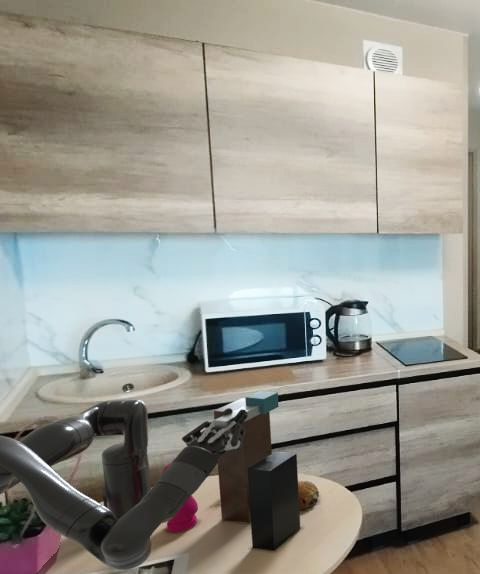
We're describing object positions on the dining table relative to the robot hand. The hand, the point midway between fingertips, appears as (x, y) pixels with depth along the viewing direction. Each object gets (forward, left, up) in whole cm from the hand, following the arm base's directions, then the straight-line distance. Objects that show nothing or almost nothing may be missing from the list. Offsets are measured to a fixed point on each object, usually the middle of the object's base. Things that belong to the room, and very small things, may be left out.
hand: (237, 411), depth 139 cm
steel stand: (+3, +7, -38) cm, 39 cm away
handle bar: (0, +3, -3) cm, 4 cm away
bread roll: (-2, +24, -38) cm, 45 cm away
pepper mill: (-25, +8, -38) cm, 46 cm away
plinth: (-13, +17, -38) cm, 44 cm away
